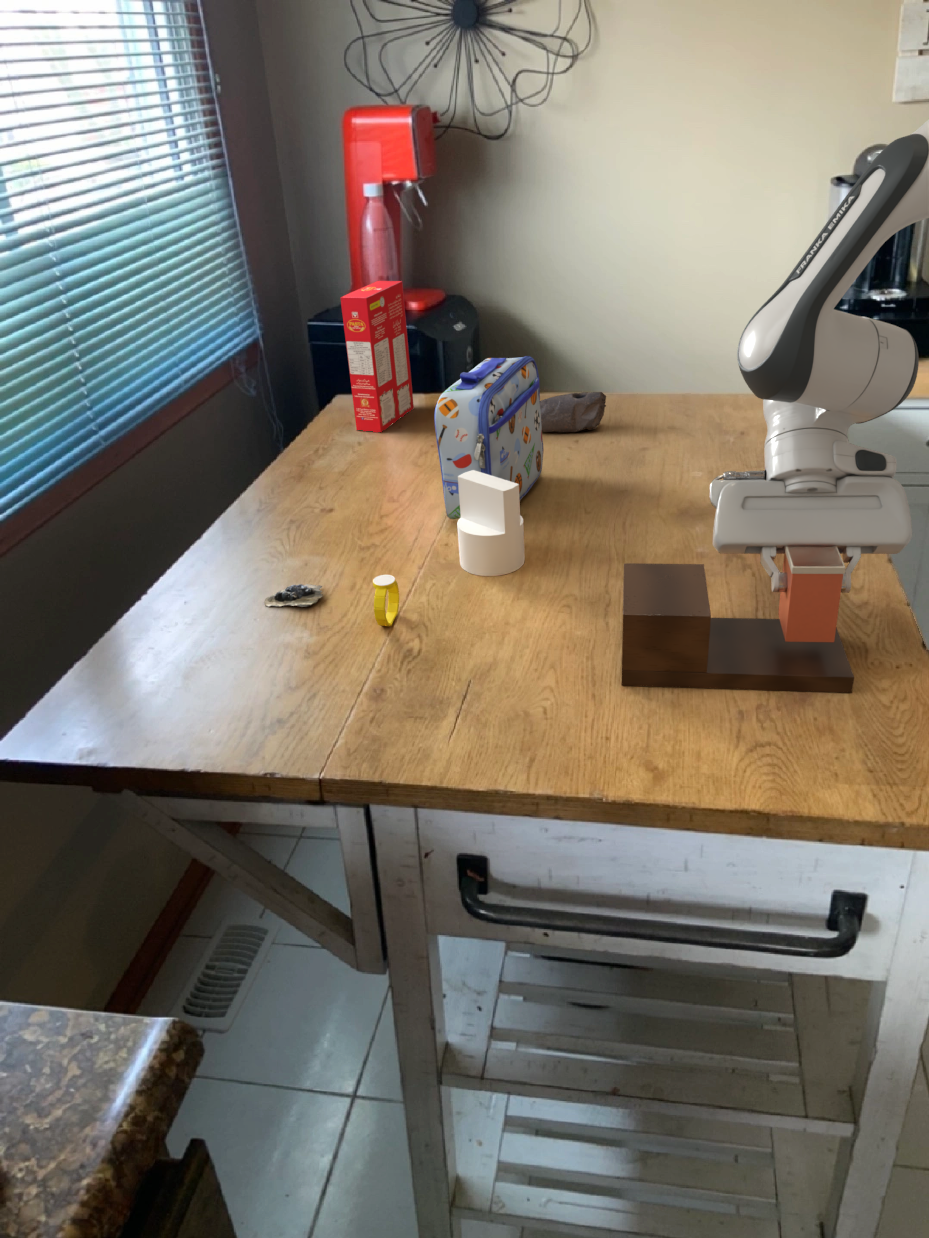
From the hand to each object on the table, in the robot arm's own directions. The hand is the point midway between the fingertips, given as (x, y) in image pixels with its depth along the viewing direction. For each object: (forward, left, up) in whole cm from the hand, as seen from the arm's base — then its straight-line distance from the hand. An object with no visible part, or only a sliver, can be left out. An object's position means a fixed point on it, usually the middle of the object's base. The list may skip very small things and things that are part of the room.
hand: (811, 591), depth 103 cm
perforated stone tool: (+31, -79, -9) cm, 85 cm away
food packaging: (+67, -87, -9) cm, 110 cm away
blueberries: (+63, -13, -9) cm, 65 cm away
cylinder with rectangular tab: (+38, -25, -9) cm, 46 cm away
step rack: (+8, -1, -9) cm, 12 cm away
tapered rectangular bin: (0, -1, -5) cm, 5 cm away
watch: (+49, -8, -9) cm, 50 cm away
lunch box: (+40, -46, -9) cm, 61 cm away
